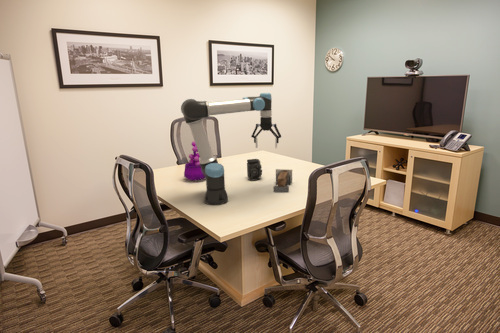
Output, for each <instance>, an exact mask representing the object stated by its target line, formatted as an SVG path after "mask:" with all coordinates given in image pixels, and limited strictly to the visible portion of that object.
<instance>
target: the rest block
mask: <svg viewBox="0 0 500 333" xmlns="http://www.w3.org/2000/svg"><path fill="white" fill-rule="evenodd" d="M272 188H273V193H289V192H290V185H285V186H284V187H282V186H278V185H274V186H273V187H272Z"/></svg>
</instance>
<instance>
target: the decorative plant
mask: <svg viewBox="0 0 500 333" xmlns="http://www.w3.org/2000/svg"><path fill="white" fill-rule="evenodd" d="M191 146H192V148H191V150H192V152H193V153H191V154H189V155H188V158H189V161H188V162H186V163H185V164H184V172H183V177H185V179H187V180H189V181H195V182H197V181H202V180H204V179H206V178H205V177H204V175H203V173H202V171H201V166H200V163H199V162H200V156H199V153H198V150H197V147H196V144H195V141H192V142H191Z"/></svg>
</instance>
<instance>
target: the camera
mask: <svg viewBox="0 0 500 333" xmlns="http://www.w3.org/2000/svg"><path fill="white" fill-rule="evenodd" d="M246 161H247V162H246V168H247V169H246V170H247V171H246V174H247V175H246V176H247V178H248V180H249V181H255V180H256V181H258V180H260V178H261V177H262V176H263V169H262V168H263V167H262V164H261V160H260V159H258V158H252V159H247V160H246Z"/></svg>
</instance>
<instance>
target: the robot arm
mask: <svg viewBox="0 0 500 333" xmlns="http://www.w3.org/2000/svg"><path fill="white" fill-rule="evenodd" d="M253 111H256V112H259V114H260V115H259V116H260V123H256V124H255V126H254V129H253V132H252V134H251V137H250V138H253V143H254V144H255V149H257V148H258V136H259V134H260V133H261V132H262V131H263V132H264V131H266V132H267V131H270V132H271V134H272V135H273V136H274V137H275V145H274V146H275V149H278V144H279V139H281V138H282V135H281V133H280V131H279V129H278V126H277V123H273V122H272V115H273V114H272V113H273V111H272V94H271V93H270V92H261V93H260V94H259V96H245V97H242V99H233V100H223V101H222V100H221V101H214V102H211V101H210V102H209V101H206V100H204V101H202V100H200V101H199V100H196V99H194V98H187V99H185V101H183V102H182V103H181V106H180V112H181V113H182V115H183V117H184V122H185V124H186V125H188V126H189V128H190V131H191V134H192V136H193V140H194V141H195V144H196V147H197V150H198V152H197V153H199V156H200V157H199V161H200V162H199V163H200V166H201V171H202V173H203V175H204V177H205V178H204V179H205V185H206V191H205V195H204V198H203V199H204V203H205V204H206V205H210V206H219V205H223V204H227V202H228V201H229V196H228V193H227V191H226V183H225V182H226V181H225V168H224V165H223V164H222V163H219V161H218V158H217V157H216V156H215V155H214V153H213V150H212V147H211V144H210V141H209V138H208V133H207V132H206V129H205V125H204V122H203V120H204V119H206V118H207V119H208V118H209V117H210V116H216V115H217V116H218V115H225V114H226V115H227V114H235V113H243V112H244V113H245V112H253ZM272 127H273V128H274V130H275V131H274V130H273V128H272ZM259 128H260V129H259ZM258 129H259V130H258ZM257 131H258V132H257ZM256 132H257V133H256Z"/></svg>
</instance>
